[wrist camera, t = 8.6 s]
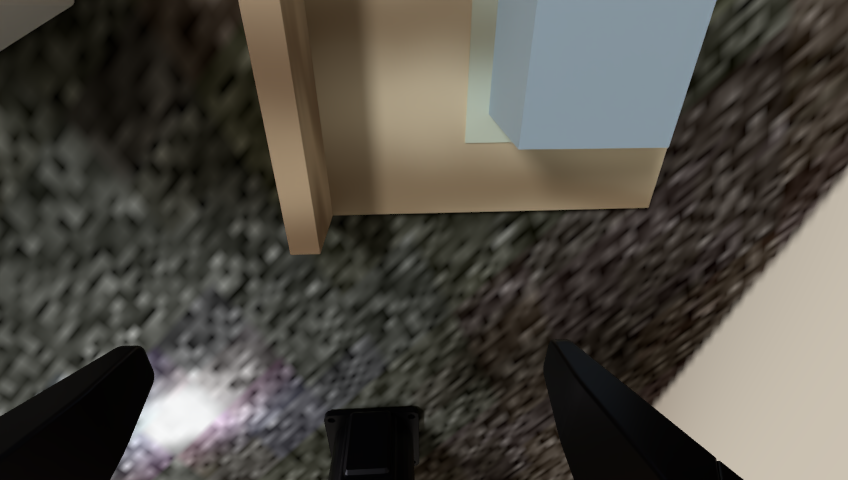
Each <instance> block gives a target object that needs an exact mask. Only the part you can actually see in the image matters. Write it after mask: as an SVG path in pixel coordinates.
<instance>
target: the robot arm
mask: <svg viewBox="0 0 848 480" xmlns="http://www.w3.org/2000/svg"><path fill="white" fill-rule="evenodd" d="M543 370H544V377H545V381H546V385H547V389H548V394H549V398H550V402H551V406H552V410H553V414H554V418H555V422H556V426H557V430H558V434H559V438H560V441H561V444H562V447H563V450H564V453H565V456H566V459H567V461H568V464H569V467H570V470H571V473H572V475H573V478H574V480H743V479H742V478H741V477H739V476H738V475H737V474H736V473H734V472H733V471H732V470H731V469H729V468H728V467H727V466H726V465H724V464H723V463H722V462H720V461H716V458H715V457H714V456H713V455H712V454H710V453H709V452H708V451H707V450H706V449H704V448H703V447H702V446H701V445H699V444H698V443H697V442H696V441H694V440H693V439H692V438H691V437H689V436H688V435H687V434H686V433H685V432H683V431H682V430H681V429H679V428H678V427H677V426H676V425H675V424H673V423H672V422H671V421H670V420H668V419H667V418H666V417H665V416H663V415H662V414H661V413H659V412H658V411H657V410H656V409H655V408H653V407H652V406H651V405H650V404H649V403H647V402H646V401H645V400H644V399H642V398H641V397H640V396H639V395H637V394H636V393H635V392H634V391H632V390H631V389H630V388H629V387H627V386H626V385H625V384H624V383H622V382H621V381H620V380H619V379H618V378H616V377H615V376H614V375H613V374H611V373H610V372H609V371H608V370H606V369H605V368H604V367H603V366H601V365H600V364H599V363H598V362H596V361H595V360H594V359H593V358H591V357H590V356H589V355H588V354H586V353H585V352H584V351H583V350H582V349H580V348H579V347H578V346H577V345H575V344H574V343H573V342H571V341H570V340H567V339H558V340H551V341H550V343H549V346H548V350H547V354H546V358H545V362H544V368H543ZM153 382H154V371H153V369H152V366H151V364H150V362H149V359H148V357H147V355H146V352H145V350H144V349H143V348H142V347H141V346H120V347H117V348H115V349H113V350H112V351H110V352H108V353H107V354H105V355H103V356H102V357H100V358H98V359H97V360H95V361H93V362H91V363H90V364H88V365H86V366H85V367H83V368H81V369H80V370H78V371H76V372H75V373H73V374H71V375H70V376H68V377H66V378H64V379H63V380H61V381H59V382H58V383H56V384H54V385H53V386H51V387H49V388H48V389H46V390H44V391H42V392H41V393H39V394H37V395H36V396H34V397H32V398H31V399H29V400H27V401H26V402H24V403H22V404H20V405H19V406H17V407H15V408H14V409H12V410H10V411H9V412H7V413H5V414H4V415H2V416H0V480H110V479H111V477H112V475H113V473H114V471H115V470H116V468H117V466H118V464H119V462H120V460H121V458H122V456H123V454H124V452H125V449H126V447H127V445H128V443H129V441H130V438H131V436H132V433H133V431H134V428H135V426H136V424H137V421H138V419H139V416H140V414H141V412H142V409H143V407H144V404H145V402H146V399H147V397H148V395H149V392H150V390H151V387H152V385H153ZM324 422H325V427H326V432H327V437H328V442H329V447H330V451H331V456H332V460H331V466H330V473H329V479H328V480H415V478H414V466H416V465H418V464H419V415H418V409H417V408H414V407H402V408H380V409H358V410H336V411H328V412H326V414H325V418H324Z"/></svg>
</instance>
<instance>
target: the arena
mask: <svg viewBox="0 0 848 480" xmlns="http://www.w3.org/2000/svg"><path fill="white" fill-rule="evenodd" d="M238 1H239V6H240V11H241V16H242V20H243V25H244V30H245V35H246V40H247V45H248V50H249V55H250V59H251V64H252V69H253V74H254V79H255V84H256V89H257V93H258V98H259V103H260V108H261V113H262V118H263V123H264V128H265V132H266V137H267V142H268V147H269V152H270V157H271V162H272V166H273V171H274V176H275V181H276V186H277V191H278V196H279V200H280V205H281V210H282V215H283V220H284V225H285V230H286V235H287V239H288V244H289V249H290V254H291V255H298V254H320V253H321V250H322V247H323V244H324V241H325V238H326V235H327V232H328V229H329V226H330V223H331V219H332V216H333V215H370V214H411V213H452V212H493V211H535V210H576V209H617V208H648V207H649V204H650V201H651V198H652V194H653V191H654V188H655V185H656V182H657V179H658V176H659V172H660V169H661V166H662V163H663V160H664V157H665V154H666V150H667V148H601V149H523V150H518V148H517V147H516V146H515V145H514V144H513V142H512V141H511V140H510V139H509V138H508V136H507V135H506V134H505V133H504V132H503V131H502V129H501V128H500V127H499V126H498V125H497V123H496V122H495V121H494V120H493V119H492V117H491V116H490V115H489V104H490V92H491V80H492V68H493V56H494V44H495V32H496V21H497V9H498V0H238Z"/></svg>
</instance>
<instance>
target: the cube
mask: <svg viewBox="0 0 848 480" xmlns="http://www.w3.org/2000/svg"><path fill="white" fill-rule="evenodd" d="M715 3H716V0H498V9H497V21H496V32H495V44H494V56H493V68H492V80H491V92H490V104H489V115H490V116H491V117H492V119H493V120H494V121H495V122H496V123H497V125H498V126H499V127H500V128H501V129H502V131H503V132H504V133H505V134H506V135H507V136H508V138H509V139H510V140H511V141H512V142H513V144H514V145H515V146H516V147H517V148H518V150H523V149H601V148H669V145H670V142H671V139H672V136H673V133H674V130H675V126H676V123H677V120H678V117H679V114H680V111H681V108H682V105H683V102H684V99H685V96H686V93H687V89H688V86H689V83H690V80H691V77H692V74H693V71H694V68H695V65H696V62H697V59H698V56H699V52H700V49H701V46H702V43H703V40H704V37H705V34H706V31H707V28H708V25H709V22H710V19H711V15H712V12H713V9H714V6H715Z"/></svg>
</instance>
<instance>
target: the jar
mask: <svg viewBox="0 0 848 480" xmlns="http://www.w3.org/2000/svg"><path fill="white" fill-rule="evenodd" d="M74 1H75V0H0V51H2V50H3V49H5V48H7V47H8V46H10V45H11V44H13V43H14V42H16V41H18V40H19V39H21V38H22V37H24V36H25V35H27V34H29V33H30V32H32V31H33V30H35V29H36V28H38V27H40V26H41V25H43V24H44V23H46V22H47V21H49V20H51V19H52V18H54V17H55V16H57V15H58V14H60V13H62V12H63V11H65V10H66V9H68V8H69V7H71V6H72V5H73V4H74Z"/></svg>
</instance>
